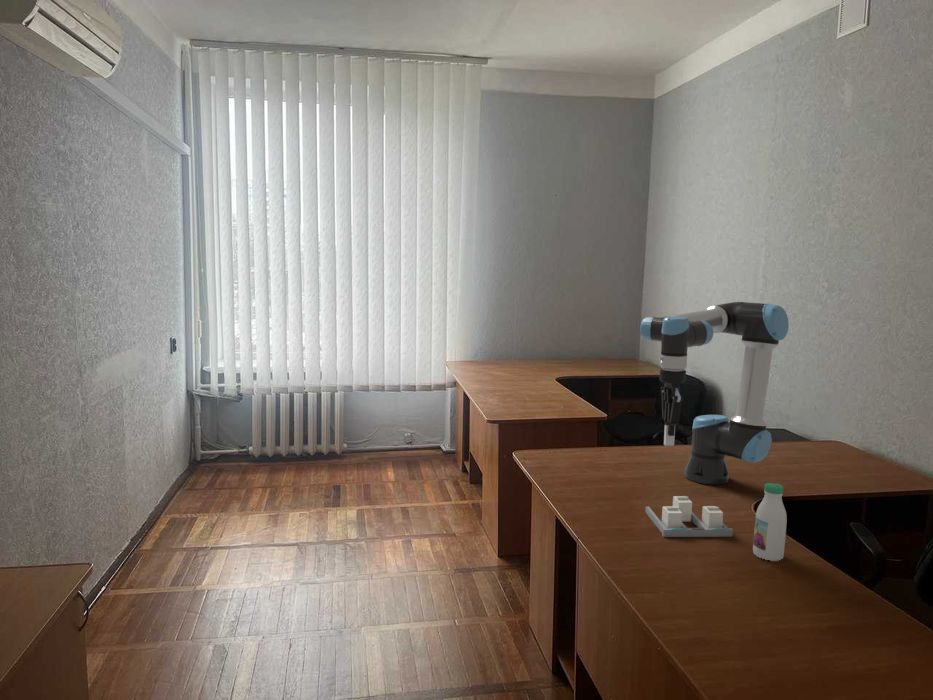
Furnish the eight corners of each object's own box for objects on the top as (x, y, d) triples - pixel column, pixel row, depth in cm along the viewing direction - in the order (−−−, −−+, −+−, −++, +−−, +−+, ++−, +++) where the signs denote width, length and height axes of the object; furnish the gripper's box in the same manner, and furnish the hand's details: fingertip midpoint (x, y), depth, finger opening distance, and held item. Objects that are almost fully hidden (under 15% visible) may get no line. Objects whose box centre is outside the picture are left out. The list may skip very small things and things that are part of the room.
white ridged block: (684, 514, 205) (686, 494, 204) (690, 521, 200) (692, 500, 199) (672, 514, 205) (673, 494, 204) (677, 521, 200) (679, 500, 199)
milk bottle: (781, 551, 184) (788, 482, 181) (785, 564, 177) (791, 492, 174) (751, 547, 187) (757, 479, 184) (753, 559, 180) (759, 488, 177)
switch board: (706, 516, 208) (707, 504, 208) (731, 541, 191) (732, 528, 190) (643, 516, 208) (644, 505, 207) (662, 541, 190) (663, 529, 189)
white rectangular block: (714, 525, 198) (716, 503, 197) (721, 532, 193) (723, 510, 192) (701, 525, 198) (702, 504, 197) (708, 532, 193) (709, 510, 192)
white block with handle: (674, 525, 197) (676, 504, 196) (680, 532, 192) (682, 510, 191) (661, 525, 197) (662, 504, 196) (667, 532, 192) (668, 510, 191)
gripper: (653, 364, 206) (649, 438, 209) (668, 373, 193) (664, 451, 197) (677, 364, 206) (673, 438, 210) (693, 372, 193) (689, 451, 197)
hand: (668, 444), depth 203 cm, fingers closed
